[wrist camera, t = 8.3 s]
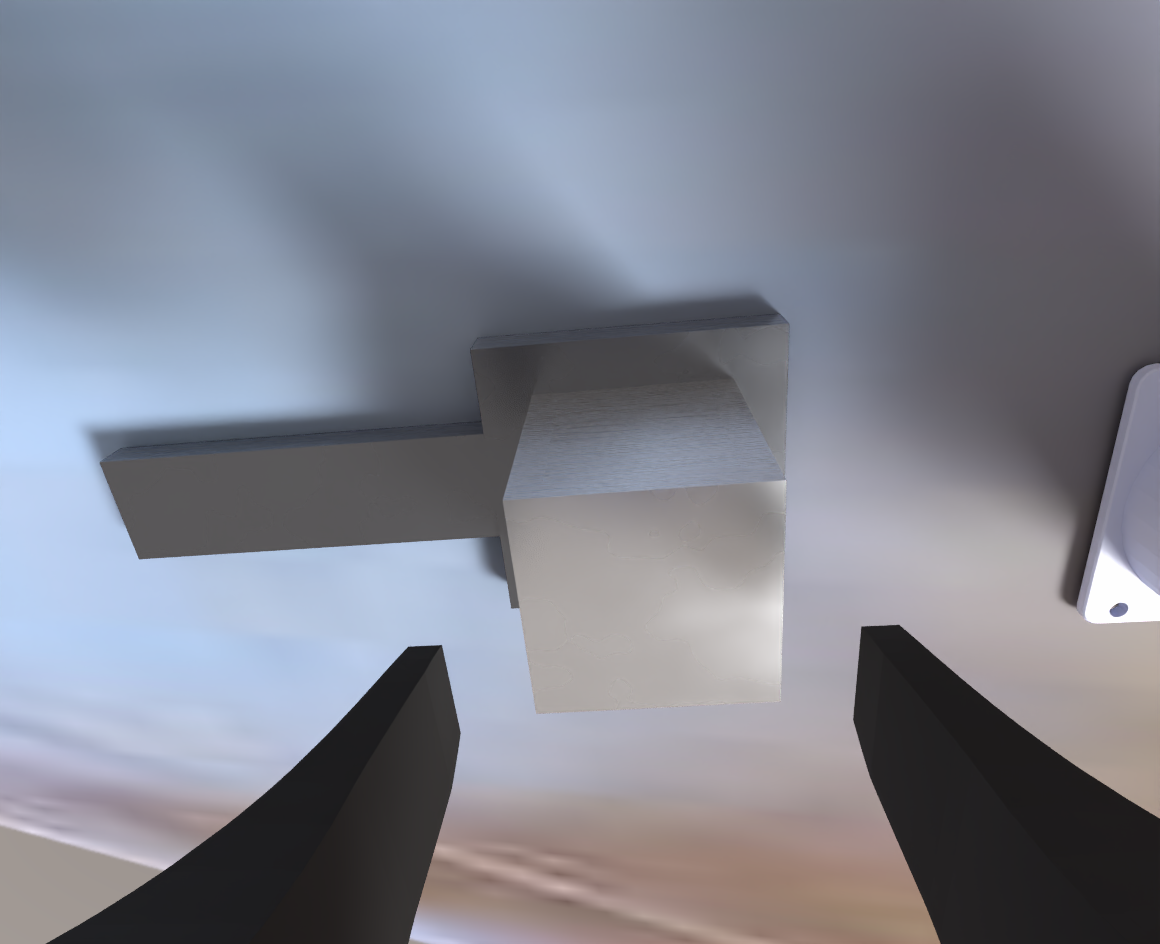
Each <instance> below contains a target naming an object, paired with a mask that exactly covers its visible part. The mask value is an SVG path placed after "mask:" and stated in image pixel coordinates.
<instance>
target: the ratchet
mask: <svg viewBox="0 0 1160 944" xmlns="http://www.w3.org/2000/svg"><path fill="white" fill-rule="evenodd" d="M788 348H789V323H788V322H787V321H786V320H785V319H784V318H783V317H782V316H781V314H769V315H757V316H744V317H732V318H719V319H707V320H694V321H682V322H669V323H656V324H644V325H631V326H619V327H606V328H594V329H581V330H569V331H556V332H544V333H531V334H518V335H506V336H493V337H481V338H477V340H476V341H475V343H474V344H473V346H472V348H471V349H470V351H471V357H472V364H473V370H474V376H475V383H476V389H477V395H478V401H479V408H480V414H481V420H482V422H467V423H453V424H439V425H425V426H412V427H398V428H385V429H371V430H358V431H345V432H331V433H318V434H305V435H291V436H278V437H264V438H251V439H238V440H224V441H211V442H197V443H184V444H171V445H157V446H144V447H131V448H121V449H119V450H118V451H116V452H114V453H113V454H111V455H110V456H108V457H107V458H105V459H104V460H102V461H101V462H100V465H101V467H102V470H103V472H104V474H105V477H106V479H107V482H108V484H109V487H110V489H111V492H112V494H113V496H114V499H115V501H116V504H117V506H118V509H119V511H120V514H121V516H122V519H123V521H124V523H125V526H126V528H127V531H128V533H129V536H130V538H131V541H132V543H133V546H134V548H135V550H136V553H137V555H138V558H139V559H150V558H165V557H181V556H197V555H212V554H228V553H244V552H260V551H275V550H291V549H307V548H322V547H338V546H354V545H369V544H385V543H401V542H417V541H432V540H448V539H464V538H479V537H495V536H500V540H501V546H502V552H503V559H504V565H505V571H506V577H507V584H508V590H509V596H510V603H511V608H520V607H519V601H518V595H517V588H516V582H515V576H514V569H513V563H512V557H511V551H510V544H509V538H508V532H507V525H506V519H505V513H504V506H503V497H504V494H505V490H506V487H507V483H508V479H509V476H510V472H511V469H512V465H513V462H514V458H515V455H516V451H517V447H518V444H519V440H520V437H521V433H522V430H523V426H524V423H525V419H526V416H527V412H528V408H529V405H530V401H531V398H532V395H538V394H550V393H563V392H575V391H587V390H600V389H612V388H624V387H637V386H649V385H661V384H674V383H686V382H698V381H711V380H723V379H734V381H735V382H736V384H737V386H738V388H739V390H740V392H741V394H742V396H743V398H744V400H745V402H746V404H747V405H748V407H749V409H750V411H751V413H752V415H753V417H754V419H755V421H756V423H757V425H758V427H759V428H760V430H761V432H762V434H763V436H764V438H765V440H766V442H767V444H768V446H769V448H770V450H771V452H772V453H773V455H774V457H775V459H776V461H777V463H778V465H779V467H780V469H781V471H782V473H783V475H784V476H785V445H786V413H787V380H788Z"/></svg>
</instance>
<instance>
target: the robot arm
mask: <svg viewBox="0 0 1160 944" xmlns="http://www.w3.org/2000/svg"><path fill="white" fill-rule="evenodd" d="M1117 603H1119V604H1118V606H1116V607H1115V608H1113V609H1111V607H1112V606H1113V605H1115V604H1117ZM1077 611H1078V612H1079V614H1080V615H1081V616H1082V617H1083V618H1084V619H1085V620H1086V621H1088V622H1090V623H1119V622H1141V621H1160V363H1156V364H1151V365H1147V366H1145V367H1143V368H1141V369H1140V370H1138V371H1137V372H1136V373H1135V375H1134V376H1133V377H1132V379H1131V381H1130V384H1129V388H1128V392H1127V396H1126V401H1125V405H1124V409H1123V413H1122V417H1121V422H1120V426H1119V430H1118V434H1117V438H1116V442H1115V447H1114V451H1113V455H1112V459H1111V463H1110V468H1109V472H1108V476H1107V480H1106V484H1105V489H1104V493H1103V497H1102V501H1101V505H1100V510H1099V514H1098V518H1097V522H1096V526H1095V531H1094V535H1093V539H1092V543H1091V547H1090V551H1089V556H1088V560H1087V564H1086V568H1085V572H1084V577H1083V581H1082V585H1081V589H1080V593H1079V598H1078V602H1077ZM853 720H854V724H855V727H856V731H857V734H858V738H859V742H860V745H861V749H862V752H863V755H864V759H865V762H866V765H867V768H868V772H869V775H870V778H871V780H872V783H873V785H874V787H875V790H876V792H877V795H878V797H879V799H880V802H881V804H882V806H883V808H884V811H885V813H886V815H887V818H888V820H889V822H890V825H891V827H892V829H893V832H894V834H895V836H896V839H897V841H898V843H899V845H900V848H901V850H902V852H903V855H904V857H905V859H906V861H907V864H908V866H909V868H910V871H911V873H912V875H913V877H914V880H915V882H916V884H917V887H918V889H919V891H920V894H921V896H922V898H923V900H924V903H925V905H926V907H927V910H928V912H929V915H930V917H931V920H932V922H933V925H934V927H935V930H936V933H937V935H938V938H939V940H940V943H941V944H1160V819H1159V818H1158V817H1156V816H1154V815H1153V814H1151V813H1149V812H1148V811H1146V810H1144V809H1143V808H1141V807H1139V806H1138V805H1136V804H1134V803H1133V802H1131V801H1129V800H1128V799H1126V798H1125V797H1123V796H1122V795H1120V794H1118V793H1117V792H1115V791H1114V790H1112V789H1111V788H1109V787H1108V786H1106V785H1104V784H1103V783H1101V782H1100V781H1098V780H1097V779H1095V778H1094V777H1092V776H1090V775H1089V774H1087V773H1086V772H1084V771H1083V770H1081V769H1080V768H1078V767H1077V766H1075V765H1074V764H1072V763H1071V762H1069V761H1068V760H1067V759H1065V758H1064V757H1062V756H1061V755H1059V754H1058V753H1057V752H1055V751H1054V750H1052V749H1051V748H1050V747H1048V746H1047V745H1046V744H1044V743H1043V742H1042V741H1040V740H1039V739H1037V738H1036V737H1035V736H1033V735H1032V734H1031V733H1029V732H1028V731H1026V730H1025V729H1024V728H1022V727H1021V726H1020V725H1018V724H1017V723H1016V722H1015V721H1013V720H1012V719H1011V718H1009V717H1008V716H1007V715H1006V714H1004V713H1003V712H1002V711H1000V710H999V709H998V708H997V707H995V706H994V705H993V704H992V703H990V702H989V701H988V700H987V699H985V698H984V697H983V696H982V695H981V694H979V693H978V692H977V691H976V690H974V689H973V688H972V687H971V686H970V685H968V684H967V683H966V682H965V681H964V680H962V679H961V678H960V677H959V676H958V675H957V674H955V673H954V672H953V671H952V670H951V669H950V668H948V667H947V666H946V665H945V664H944V663H943V662H941V661H940V660H939V659H938V658H937V657H936V656H934V655H933V654H932V653H931V652H930V651H929V650H928V649H926V648H925V647H924V646H923V645H922V644H921V643H920V642H918V641H917V640H916V639H915V638H914V637H913V636H911V635H910V634H909V633H908V632H907V631H906V630H904V629H903V628H902V627H901V626H900V625H888V626H865V627H861V639H860V650H859V661H858V672H857V684H856V695H855V706H854V717H853ZM460 734H461V733H460V728H459V723H458V719H457V714H456V709H455V705H454V700H453V695H452V691H451V686H450V681H449V677H448V672H447V667H446V662H445V658H444V653H443V648H442V645H436V646H414V647H408V648H407V649H406V650H405V651H404V652H403V653H402V654H401V655H400V656H399V657H398V658H397V659H396V660H395V662H394V663H393V664H392V665H391V666H390V667H389V668H388V669H387V670H386V671H385V673H384V674H383V675H382V676H381V677H380V678H379V679H378V680H377V682H376V683H375V684H374V685H373V686H372V687H371V688H370V689H369V690H368V692H367V693H366V694H365V695H364V696H363V697H362V698H361V699H360V700H359V701H358V703H357V704H356V705H355V706H354V707H353V708H352V709H351V710H350V711H349V712H348V713H347V714H346V715H345V716H344V718H343V719H342V720H341V721H340V722H339V723H338V724H337V725H336V726H335V727H334V728H333V729H332V730H331V731H330V732H329V733H328V734H327V735H326V736H325V737H324V738H323V739H322V740H321V741H320V742H319V743H318V744H317V745H316V746H315V747H314V748H313V749H312V750H311V751H310V752H309V753H308V754H307V755H306V756H305V757H304V758H303V759H302V760H301V761H300V762H299V763H298V764H297V765H296V766H295V767H294V768H293V769H292V770H291V771H290V772H289V773H287V774H286V775H285V776H284V777H283V778H282V779H281V780H280V781H279V782H277V783H276V784H275V785H274V786H273V787H272V788H271V789H270V790H268V791H267V792H266V793H265V794H264V795H263V796H261V797H260V798H259V799H258V800H257V801H255V802H254V803H253V804H252V805H251V806H249V807H248V808H247V809H246V810H245V811H243V812H242V813H241V814H240V815H239V816H237V817H236V818H235V819H234V820H232V821H231V822H230V823H228V824H227V825H226V826H225V827H223V828H222V829H221V830H219V831H218V832H216V833H215V834H214V835H212V836H211V837H210V838H208V839H207V840H206V841H204V842H203V843H202V844H200V845H199V846H197V847H196V848H195V849H193V850H192V851H191V852H189V853H188V854H187V855H185V856H184V857H183V858H181V859H180V860H179V861H177V862H176V863H174V864H173V865H172V866H170V867H169V868H167V869H166V870H164V871H163V872H162V873H160V874H159V875H157V876H156V877H154V878H153V879H151V880H150V881H148V882H147V883H145V884H144V885H142V886H141V887H139V888H138V889H136V890H135V891H133V892H131V893H130V894H128V895H127V896H125V897H123V898H122V899H120V900H119V901H117V902H116V903H114V904H112V905H111V906H109V907H108V908H106V909H104V910H103V911H101V912H100V913H98V914H97V915H95V916H93V917H91V918H90V919H88V920H86V921H85V922H83V923H81V924H80V925H78V926H76V927H75V928H73V929H71V930H69V931H67V932H66V933H64V934H62V935H60V936H59V937H57V938H55V939H53V940H52V941H50V942H48V943H46V944H408V942H409V938H410V934H411V930H412V926H413V922H414V918H415V914H416V911H417V907H418V904H419V901H420V897H421V894H422V890H423V887H424V883H425V880H426V877H427V873H428V870H429V866H430V863H431V859H432V856H433V853H434V849H435V846H436V842H437V839H438V836H439V832H440V829H441V825H442V822H443V818H444V814H445V811H446V807H447V804H448V800H449V797H450V793H451V789H452V784H453V778H454V772H455V767H456V760H457V754H458V747H459V740H460Z"/></svg>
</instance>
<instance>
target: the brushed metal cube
mask: <svg viewBox="0 0 1160 944" xmlns="http://www.w3.org/2000/svg"><path fill="white" fill-rule="evenodd" d="M786 481H787V480H786V478H785V476H784V475H783V473H782V471H781V469H780V467H779V465H778V463H777V461H776V459H775V457H774V455H773V453H772V452H771V450H770V448H769V446H768V444H767V442H766V440H765V438H764V436H763V434H762V432H761V430H760V428H759V427H758V425H757V423H756V421H755V419H754V417H753V415H752V413H751V411H750V409H749V407H748V405H747V404H746V402H745V400H744V398H743V396H742V394H741V392H740V390H739V388H738V386H737V384H736V382H735V381H734V379H723V380H711V381H698V382H686V383H674V384H661V385H649V386H637V387H624V388H612V389H600V390H587V391H575V392H563V393H550V394H538V395H532V398H531V401H530V405H529V408H528V412H527V416H526V419H525V423H524V426H523V430H522V433H521V437H520V440H519V444H518V447H517V451H516V455H515V458H514V462H513V465H512V469H511V472H510V476H509V479H508V483H507V487H506V490H505V494H504V497H503V506H504V513H505V519H506V525H507V532H508V538H509V544H510V551H511V557H512V563H513V569H514V576H515V582H516V588H517V595H518V601H519V607H520V614H521V620H522V626H523V633H524V639H525V645H526V652H527V658H528V664H529V671H530V677H531V683H532V690H533V696H534V702H535V708H536V714H544V713H564V712H584V711H604V710H624V709H644V708H664V707H684V706H704V705H724V704H744V703H764V702H781V666H782V629H783V592H784V555H785V518H786Z"/></svg>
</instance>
